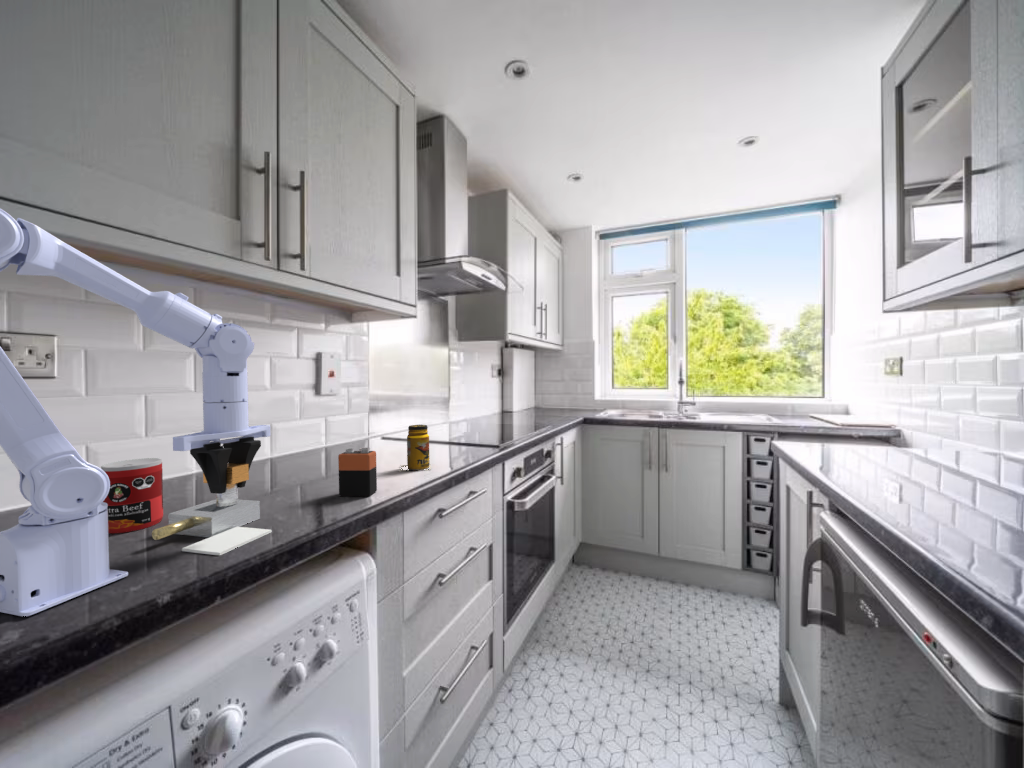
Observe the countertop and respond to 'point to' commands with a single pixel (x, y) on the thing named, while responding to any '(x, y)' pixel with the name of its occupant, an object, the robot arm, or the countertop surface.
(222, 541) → the mat
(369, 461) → the battery
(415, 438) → the condiment
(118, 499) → the canned food
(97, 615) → the countertop surface
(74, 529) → the robot arm
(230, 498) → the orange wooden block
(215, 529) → the hollow block with rod
